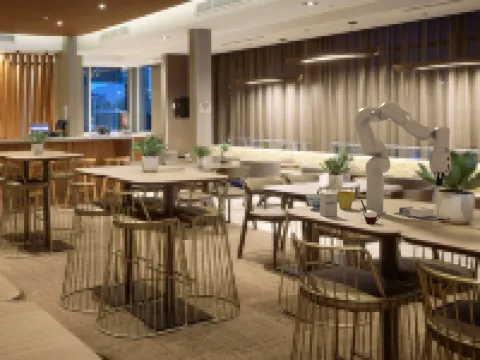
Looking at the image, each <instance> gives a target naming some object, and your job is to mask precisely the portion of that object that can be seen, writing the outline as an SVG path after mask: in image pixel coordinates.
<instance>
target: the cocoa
mask: <svg viewBox="0 0 480 360" xmlns="http://www.w3.org/2000/svg"><path fill="white" fill-rule="evenodd" d="M360 202H361V206H362V208H364V211H365V214H364V213H363V214H364V221H365V223H366V224H368V225H371V224H372V225H373V224H376V223H377V222H378V221H379V220H380V217H381V216H380V215H377V213H376V212H374V211H372V210H367V211H366V209H365V203H364V201H363V200H362V199H360Z"/></svg>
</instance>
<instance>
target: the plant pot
mask: <svg viewBox="0 0 480 360" xmlns="http://www.w3.org/2000/svg"><path fill="white" fill-rule="evenodd" d="M336 193H337V202H338V204H339V205H338V206H339V209H341V210H351V209H352V205H353V202H354V199H355V191H346V190H345V191H344V190H343V191H337V192H336Z"/></svg>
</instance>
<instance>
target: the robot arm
mask: <svg viewBox="0 0 480 360" xmlns="http://www.w3.org/2000/svg"><path fill="white" fill-rule="evenodd" d="M386 120H389V121H391V122H393V123H394V124H396V125H397V126H399V127H400V128H401V129H402V130H403V131H405V132H406V133H408V134H409V135H410V136H412V137H413V138H416V139H417V140H419V141H423V142H424V141H425V142H426V141H433V152H432V155H431V159H430V171H431V172H430V173H431V174H432V175H434V176H435V177H434V178H436V181H435V182H436V185H435V186H437V187H441V186H444V185H443V184H444V179H445V177H447V176H449V175H450V173H451V171H452V159H451V153H450V152H451V149H450V134H451V133H450V131H451V129H450V127H448V126H433V125H432V126H431V125H423V124H422V123H420V122H419V121H417V120H415V119H414V118H413V117H412V115H411V113H410V112H408V110H407V111H406V110H405V109H403V108H402V107H401V105H400V104H399V103H398V102H395V101H385V102H383V103H382V104H381V105H379V106H375V107H374V106H373V107H372V106H366V107H363V108H360V109H359V111H357V112H356V115H355V117H354V126H355V131H356V133H357V136H358V140H359V142H360V146H361V149H362V152H363V154H364V155H366V156H368V157H371V158H369V159H368V160H367V162H366V164H365V176H366V177H365V178H366V191H365V192H366V194H365V197H366V199H365V204H364V206H365V209H366V211H367V210H372V211H374V212H376V213H377V216H383V215H386V214H387V211H386V210H384V197H385V196H384V195H385V193H384V191H385V179H384V174H386V173H387V172H389V170H390V169H391V161H390V157H389V153H388V150H387V146H386V145H385V143H384V141H383V140H382V139H378V138H376V137H375V133H374V130H373V128H372V127H371V125H370V123H377V122H382V121H386ZM359 211H360V212H362V214H365V211H364V208H363V207H359Z"/></svg>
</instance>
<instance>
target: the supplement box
mask: <svg viewBox="0 0 480 360" xmlns="http://www.w3.org/2000/svg"><path fill="white" fill-rule="evenodd" d="M319 194H320V210H319V215H320V216H322V217H324V218H325V217H337V215H338V198H337V192H331V191H329V192H320V193H319Z"/></svg>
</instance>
